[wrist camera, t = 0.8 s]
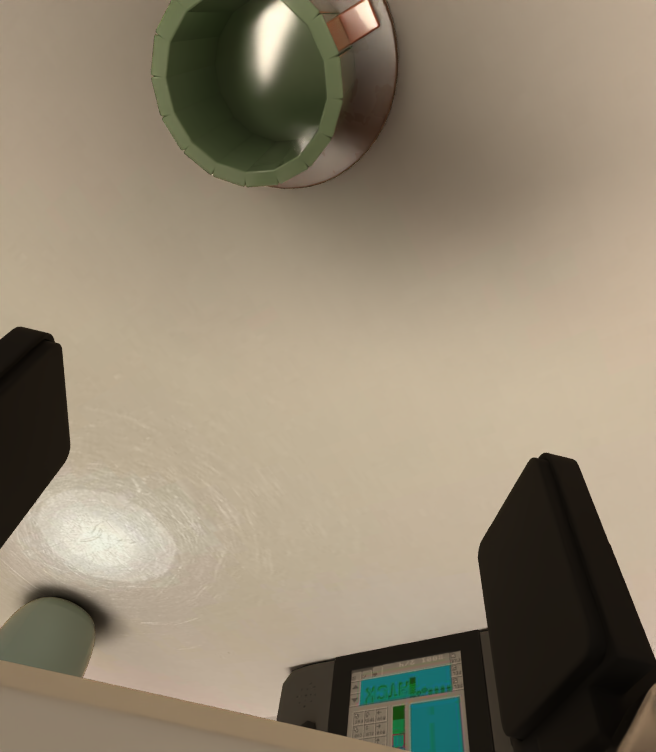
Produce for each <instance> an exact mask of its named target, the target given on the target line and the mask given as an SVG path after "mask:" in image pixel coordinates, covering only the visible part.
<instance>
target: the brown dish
mask: <svg viewBox="0 0 656 752" xmlns="http://www.w3.org/2000/svg"><path fill="white" fill-rule="evenodd" d="M328 1H329V2H330V3H331V4H332V5H333V7H334V8H335V9H336V10H337V12H338V13H339V14H341V13H342V12H344V11H345V10H347V9H348V8H350V7H351V6H353V5H354V4H356V3H358V2H359V1H361V0H328ZM371 3H372V5H373V8H374V10H375V13H376V15H377V17H378V20H379V22H380V27H379V28H377V29H376V30H374V31H372V32H371V33H369V34H368V35H366V36H364V37H363V38H361V39H360V40H358V41H356V42H355V43H353V49H354V54H355V62H356V76H355V86H354V90H353V94H352V98H351V101H350V103H349V106H348V110H347V112H346V114H345V116H344V118H343V120H342V122H341V124H340V125H339V127H338V129H337V131H336V133H335V134H334V136H333V138H332V140H331V141H330V143H329V144H328V145H327V147H326V148H325V149H324V150H323V152H322V153H321V154H320V156H319V157H318V158H317V160H316V161H315V162H314V163H313V165H312V166H311V167H309V168H308V169H307V170H306V171H304V172H302V173H300V174H298V175H297V176H295V177H293V178H291V179H289V180H287V181H286V182H284V183H282V184H280V183H279V184H278V185H272V186H269V187H275V188H283V189H297V188H304V187H311V186H314V185H318V184H321V183H324V182H326V181H329V180H331V179H333V178H335V177H337V176H339V175H340V174H342V173H343V172H345V171H347V170H348V169H349V168H350V167H352V166H353V165H354V164H355V163H356V162H358V161H359V160H360V159H361V158H362V157H363V155H364V154H365V153H366V152H367V151H368V150H369V149H370V147H371V146H372V144H373V143H374V142H375V140H376V139H377V137H378V136H379V134H380V132H381V130H382V128H383V126H384V125H385V122H386V120H387V117H388V115H389V112H390V110H391V106H392V102H393V99H394V95H395V90H396V83H397V76H398V49H397V38H396V33H395V28H394V24H393V20H392V17H391V14H390V11H389V8H388V4H387V2H386V0H371Z"/></svg>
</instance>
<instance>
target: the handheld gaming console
mask: <svg viewBox="0 0 656 752" xmlns="http://www.w3.org/2000/svg"><path fill="white" fill-rule="evenodd" d="M277 721H279V722H283V723H288V724H292V725H297V726H301V727H306V728H310V729H314V730H319V731H323V732H328V733H332V734H336V735H341V736H345V737H349V738H354V739H358V740H363V741H367V742H371V743H376V744H380V745H384V746H389V747H393V748H398V749H402V750H406V751H411V752H514V751H513V745H512V738H511V737H508V736H506V734H505V733H504V731H503V728H502V724H501V717H500V710H499V703H498V696H497V689H496V682H495V675H494V668H493V661H492V653H491V646H490V639H489V632H488V631H483V632H479V630H474V631H469V632H464V633H459V634H454V635H449V636H444V637H439V638H434V639H429V640H424V641H419V642H414V643H408V644H403V645H398V646H393V647H388V648H383V649H378V650H373V651H368V652H363V653H358V654H353V655H348V656H343V657H338V658H336V660H334V661H329V662H324V663H319V664H313V665H309V666H306V667H303V668H300V669H297V670H294V671H292V672H291V674H290V675H289V677H288V678H287V679H286V681H285V682H284V683H283V687H282V692H281V698H280V704H279V709H278V715H277Z"/></svg>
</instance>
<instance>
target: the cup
mask: <svg viewBox="0 0 656 752" xmlns="http://www.w3.org/2000/svg"><path fill="white" fill-rule="evenodd" d="M94 643H95V626H94V623H93V620H92V618H91V617H90V615H89V614H88V613H87V612H86V611H85V610H84V609H82V608H81V607H80V606H78V605H76V604H75V603H72V602H70V601H68V600H65V599H62V598H58V597H42V598H38V599H35V600H33V601H30V602H28V603H27V604H25V605H24V606H22V607H21V608H20V609H18V610H17V611H16V612H15V613H14V614H13V615H12V616H11V617H10V618H9V619H8V620H7V621H6V622H5V623H4V625H3V626H2V627H1V628H0V660H3V661H7V662H12V663H16V664H21V665H26V666H30V667H35V668H39V669H44V670H48V671H53V672H58V673H62V674H67V675H71V676H76V677H81V678H83V676H84V674H85V671H86V669H87V666H88V664H89V661H90V658H91V655H92V651H93V647H94Z"/></svg>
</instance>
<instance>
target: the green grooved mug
mask: <svg viewBox="0 0 656 752" xmlns="http://www.w3.org/2000/svg"><path fill="white" fill-rule="evenodd" d="M379 27H380V22H379V20H378V17H377V15H376V13H375V10H374V8H373V5H372V3H371V0H361V1H359V2H358V3H356V4H354V5H353V6H351V7H350V8H348V9H347V10H345V11H344V12H342V13H341V14H339V13H338V12H337V10H336V9H335V8H334V7H333V5H332V4H331V3H330V2H329V1H328V0H171V2H170V4H169V6H168V8H167V10H166V12H165V13H164V15H163V17H162V19H161V21H160V23H159V25H158V27H157V29H156V33H157V35H155V36H154V45H153V56H152V67H151V75H153V77H152V78H151V79H152V83H153V87H154V91H155V96H156V100H157V104H158V108H159V112H160V115H161V116H164V117H163V118H162V120H163V122H164V123H165V125H166V126H167V128H168V130H169V131H170V133H171V134H172V136H173V138H174V139H175V141H176V142H177V144H178V146H179V147H180V149H181V150H185V151H184V154H186V155H187V156H188V157H189V158H190V159H192V160H193V161H194V162H195V163H197V164H198V165H199V166H200V167H201V168H203V169H204V170H205V171H206V172H208V173H209V174H210V175H212V174H213V176H214V177H216V178H219V179H222V180H225V181H228V182H231V183H234V184H237V185H240V186H243V187H244V186H245V185H246V187H259V186H272V185H278V184H279V183H280V184H282V183H284V182H286V181H287V180H289V179H291V178H293V177H295V176H297V175H298V174H300V173H302V172H304V171H306V170H307V169H308V168H309V167H311V166H312V165H313V163H314V162H315V161H316V160H317V158H318V157H319V156H320V154H321V153H322V152H323V150H324V149H325V148H326V147H327V145H328V144H329V143H330V141H331V140H332V138H333V136H334V134H335V133H336V131H337V129H338V127H339V125H340V124H341V122H342V120H343V118H344V116H345V114H346V112H347V110H348V106H349V103H350V101H351V98H352V94H353V90H354V86H355V76H356V62H355V54H354V49H353V43H355V42H356V41H358V40H360V39H361V38H363V37H364V36H366V35H368V34H369V33H371V32H372V31H374V30H376V29H377V28H379Z"/></svg>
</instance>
